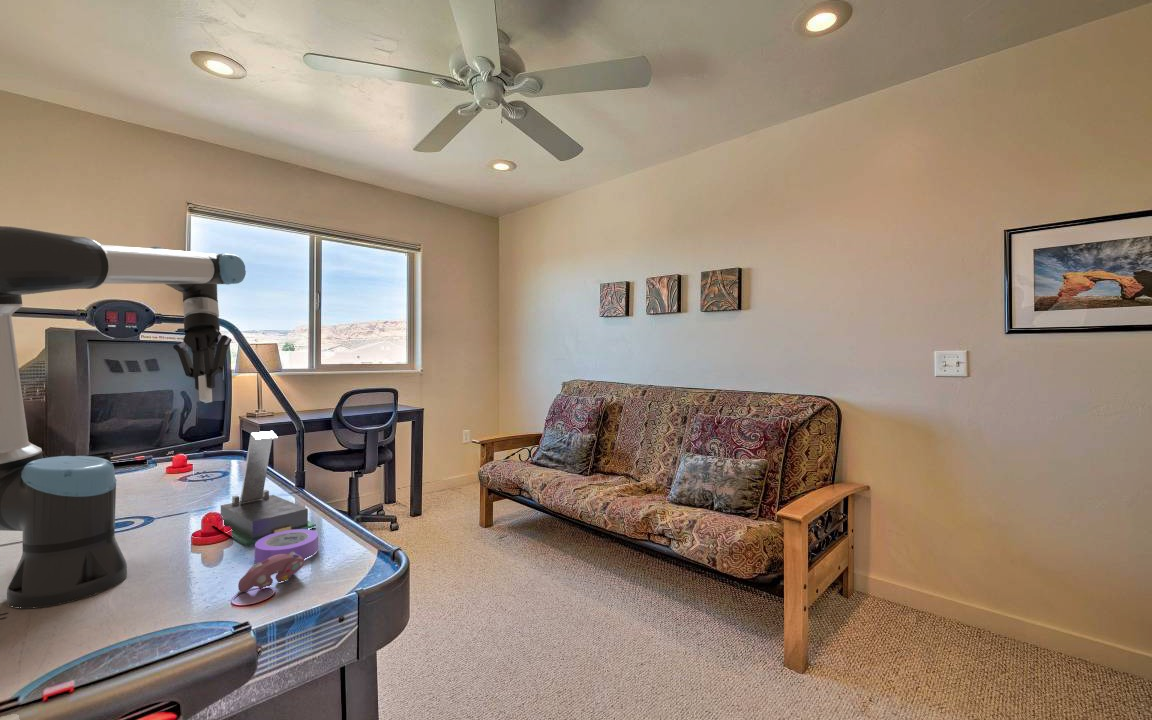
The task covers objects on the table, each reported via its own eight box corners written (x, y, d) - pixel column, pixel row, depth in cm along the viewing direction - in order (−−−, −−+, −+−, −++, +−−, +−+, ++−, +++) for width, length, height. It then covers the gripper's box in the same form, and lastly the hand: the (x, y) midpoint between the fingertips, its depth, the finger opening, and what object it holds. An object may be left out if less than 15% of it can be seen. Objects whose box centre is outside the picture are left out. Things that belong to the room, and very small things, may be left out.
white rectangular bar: (244, 509, 122) (238, 501, 124) (266, 505, 125) (259, 497, 128) (256, 439, 118) (249, 431, 120) (277, 436, 121) (271, 429, 124)
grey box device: (212, 525, 121) (212, 498, 121) (277, 511, 133) (277, 485, 133) (246, 546, 108) (247, 515, 108) (315, 528, 120) (316, 500, 120)
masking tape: (313, 563, 100) (313, 545, 100) (247, 571, 96) (247, 552, 96) (322, 543, 111) (322, 526, 111) (263, 549, 107) (263, 532, 107)
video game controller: (245, 605, 85) (254, 574, 84) (234, 588, 88) (242, 557, 86) (301, 584, 94) (310, 555, 92) (290, 568, 96) (299, 540, 94)
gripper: (164, 317, 125) (167, 403, 118) (220, 306, 127) (225, 391, 120) (183, 328, 132) (187, 410, 125) (235, 318, 134) (241, 398, 127)
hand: (205, 400), depth 122 cm, fingers closed
